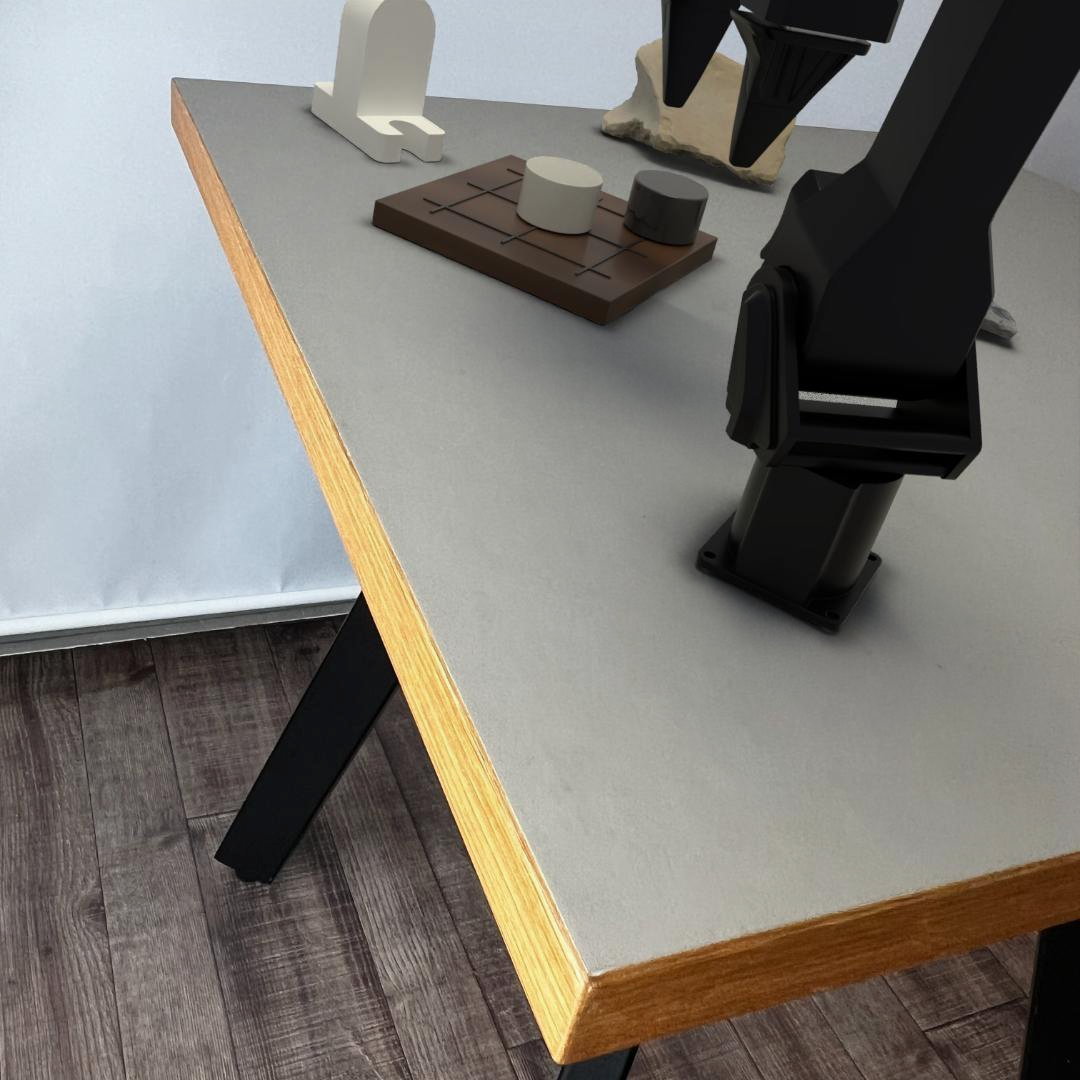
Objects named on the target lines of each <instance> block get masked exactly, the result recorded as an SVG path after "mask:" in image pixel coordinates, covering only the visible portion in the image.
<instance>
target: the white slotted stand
mask: <svg viewBox="0 0 1080 1080" xmlns="http://www.w3.org/2000/svg"><path fill="white" fill-rule="evenodd" d="M436 26H437V25H436V19H435V14H434V12H433V10H432V8H431V5H430V4H429V2H428V1H426V0H345V3H344V5H343V7H342V12H341V19H340V26H339V34H338V35H339V36H338V45H337V51H336V60H335V69H334V78H333V81H315V82H314V83H313V84H314V85H313V93H312V101H311V102H312V103H311V112H310V113H312V114H313V115H314V116H316V117H317V118H318V119H319V120H321V121H322V122H324V123H325V124H326V125H328V126H329V127H330V128H331V129H333V130H334V131H335V132H337V133H338V134H339V135H341V136H342V137H343V138H344V139H346V140H347V141H349V142H350V143H351V144H352V145H354V146H356V147H357V148H358V149H360V151H362V152H363V153H365V154H366V155H368V156H369V157H370V158H371V159H373V160H375V161H376V162H379V163H385V164H386V163H387V164H388V163H400V162H401V155H402V150H406V151H408V152H409V153H411V154H413V155H414V156H415V157H417V158H419V159H420V160H421V161H422V162H423V163H424V162H440V161H441V160H442V155H443V148H444V143H445V138H446V137H445V136H446V131H445V130H443V129H442V128H441V127H439V126H437V125H436V124H435V123H433V122H432V121H430V120H429V119H427V118H426V117H424V116H423V113H424V106H425V101H426V94H427V88H428V83H429V76H430V69H431V63H432V57H433V50H434V45H435V40H436V39H435V38H436Z"/></svg>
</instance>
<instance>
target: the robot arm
mask: <svg viewBox="0 0 1080 1080" xmlns="http://www.w3.org/2000/svg"><path fill="white" fill-rule="evenodd" d="M904 3H905V0H660V9H661V11H660V12H661V38H662V87H663V103H664V104H665V105H666V106H668V107H674V108H682V107H683V106H684V105H685V103H686V101H687V100H688V98H689V97H690V95H691V93H692V92H693V90H694V89H695V87H696V85H697V84H698V82H699V80H700V79H701V77H702V75H703V73H704V71H705V69H706V68H707V66H708V64H709V62H710V60H711V59H712V57H713V55H714V53H715V51H716V52H717V50H718V47H719V46H720V44H721V42H722V40H723V39H724V37H725V35H726V33H727V32H728V29H730V26H731V24H732V22H733V23H734V24H735V25H734V26H736V30H737V32H738V34H739V36H740V37H741V41H742V43H743V45H744V47H745V51H746V54H745V59H744V64H743V65H744V71H743V76H742V81H741V87H740V92H739V98H738V103H737V108H736V114H735V119H734V125H733V130H732V137H731V145H730V153H729V163H730V164H731V165H732V166H734V167H741V168H749V167H751V166H752V165H753V164H754V163H755V162H756V161H757V160H758V158H759V157H760V156H761V155H762V154H763V153H764V152H765V151H766V149H767V148H768V147H769V146H770V145H771V144H772V143H773V142H774V140H775V139H776V138H777V137H778V136H779V135H780V134H781V133H782V131H783V130H784V129H785V128H786V127H787V126H788V125H789V124H790V122H791V121H792V120H793V119H794V118H795V117H796V118H797V116H798V115H799V114H800V112H801V111H802V110H803V109H804V108H805V107H807V105H808V104H809V103H810V102H811V100H813V99H814V98H815V97H816V95H817V94H818V93H820V91H821V90H823V88H825V86H826V85H828V83H830V82H831V81H832V80H833V79H834V78H835V77H836V75H838V74H839V73H840V72H841V71H842V70H843V69H844V68H845V66H847V65H848V64H849V63H850V62H851V61H852V60H853V59H854V58H855V57H856V56H858V57H865V56H868V53H869V52H870V50H871V47H872V43H871V42H873V43H879V44H883V45H884V44H885V45H886V44H888V43H891V40H892V37H893V35H894V32H895V29H896V27H897V23H898V20H899V18H900V15H901V12H902V9H903V6H904ZM741 6H742V7H743V8H744V9H747V10H748V11H747V10H742V9H740V8H741ZM1079 72H1080V0H942V1H941V3H940V5H939V7H938V9H937V11H936V14H935V15H934V18H933V20H932V22H931V24H930V26H929V28H928V29H927V31H926V34H925V36H924V38H923V40H922V42H921V44H920V46H919V48H918V50H917V53H916V55H915V57H914V58H913V60H912V63H911V65H910V67H909V69H908V71H907V73H906V75H905V77H904V78H903V81H902V83H901V85H900V88H899V89H898V91H897V93H896V95H895V97H894V99H893V101H892V104H891V106H890V108H889V110H888V112H887V114H886V116H885V118H884V120H883V122H882V124H881V126H880V128H879V130H878V132H877V135H876V137H875V139H874V141H873V143H872V145H871V146H870V148H869V150H868V152H867V153H866V154H865V156H864V158H863V159H861V160H860V161H859V162H857V163H856V164H855V165H853V166H852V167H850V168H849V169H847V170H846V171H845V172H843V173H839V172H834V171H833V172H832V171H826V170H819V169H814V168H813V169H812V168H809V169H808V170H806V171H805V172H804V173H803V174H802V175H801V176H800V177H799V179H798V180H797V181H796V182H795V183H794V184H793V185H792V186H791V189H790V191H789V194H788V197H787V199H786V202H785V205H784V208H783V211H782V214H781V216H780V219H779V221H778V223H777V226H776V228H775V229H774V231H773V233H772V235H771V237H770V238H769V240H768V241H767V242H766V243H765V245H764V246H763V247H762V249H761V250H760V251H759V252H760V253H759V258H760V260H763V262H762V263H761V266H760V268H759V269H757V270H756V271H755V272H754V274H753V275H752V276H751V278H750V280H749V282H748V284H747V286H746V289H745V290H744V291H743V292H742V295H741V301H740V306H739V312H738V317H737V325H736V331H735V336H734V342H733V347H732V348H733V349H732V355H731V360H730V366H729V372H728V378H727V384H726V399H725V408H726V411H727V412H728V414H729V415H730V416H729V419H728V422H727V425H726V427H725V430H724V431H725V433H726V435H727V437H728V438H729V440H731V441H733V442H735V443H737V444H739V445H741V446H744V447H745V448H746V449H747V450H752V451H753V453H754V455H756V457H755V460H754V462H753V465H752V468H751V471H750V473H749V476H748V479H747V481H746V483H745V487H744V490H743V492H742V495H741V498H740V500H739V502H738V506H737V509H735V511H734V512H733V513H732V514H731V515H730V516H729V517H728V518H727V519H726V520H725V521H724V522H723V523H722V525H721V526H720V527H719V528H718V529H717V530H716V531H715V532H714V533H713V534H712V535H711V537H710V538H709V539H708V540H707V541H705V543H704V544H703V545H702V546H701V547H700V548H699V549H698V551H697V555H696V557H695V563H696V564H697V565H698V566H699V567H700V568H702V569H703V570H705V571H708V572H709V573H711V574H714V575H716V576H718V577H720V578H722V579H724V580H726V581H728V582H730V583H732V584H734V585H736V586H738V587H739V588H742V589H744V590H746V591H748V592H750V593H752V594H753V595H756V596H758V597H760V598H762V599H764V600H766V601H767V602H768V601H769V602H771V603H772V604H774V605H776V606H779V607H780V608H783V609H784V610H787V611H788V612H790V613H792V614H795V615H797V616H799V617H801V618H803V619H805V620H806V621H809V622H811V623H812V624H814V625H816V626H819V627H821V628H823V629H825V630H827V631H832V632H838V631H840V630H841V629H842V628H843V626H844V624H845V623H846V621H847V620H848V618H849V617H850V615H851V613H852V612H853V610H854V609H855V607H856V606H857V604H858V603H859V601H860V599H861V598H862V597H863V595H864V593H865V591H866V590H867V588H868V587H869V585H870V584H871V582H872V581H873V579H874V577H875V576H876V574H877V573H878V571H879V569H880V567H881V565H882V563H883V559H882V558H881V556H880V555H879V554H877V553H876V552H874V551H872V549H873V547H874V545H875V543H876V540H877V539H878V536H879V534H880V532H881V529H882V527H883V525H884V522H885V520H886V519H887V516H888V514H889V512H890V509H891V507H892V505H893V502H894V500H895V498H896V497H897V494H898V491H899V489H900V487H901V485H902V483H903V480H904V479H905V476H907V475H908V476H919V477H921V476H922V477H935V478H940V479H941V480H947V481H956V480H957V479H958V478H960V476H961V475H962V474H963V472H965V470H966V469H967V468H968V467H969V466H970V465H971V464H972V463H973V461H974V460H976V458H977V457H978V456H979V455H980V453H981V452H982V448H983V434H982V433H983V431H982V417H981V403H980V389H979V386H980V385H979V372H978V357H977V355H978V354H977V342H976V341H977V340H976V337H977V336H978V333H979V332H980V329H981V328H980V327H981V325H982V323H983V321H984V319H985V316H986V314H987V312H988V310H989V308H990V306H991V304H992V302H993V301H994V299H995V295H996V289H995V287H996V286H995V272H994V255H993V252H994V251H993V236H992V223H993V221H994V219H995V217H996V215H997V213H998V210H999V209H1000V207H1001V205H1002V204H1003V202H1004V200H1005V199H1006V196H1007V195H1008V193H1009V192H1010V190H1011V188H1012V186H1013V185H1014V183H1015V181H1016V179H1017V178H1018V176H1019V175H1020V173H1021V171H1022V170H1023V168H1024V166H1025V165H1026V163H1027V161H1028V159H1029V158H1030V156H1031V154H1032V152H1033V151H1034V150H1035V148H1036V145H1037V144H1038V143H1039V141H1040V139H1041V137H1042V136H1043V133H1044V132H1045V131H1046V129H1047V128H1048V125H1049V124H1050V122H1051V121H1052V119H1053V117H1054V116H1055V114H1056V112H1057V111H1058V108H1059V107H1060V105H1061V103H1063V100H1064V98H1065V97H1066V95H1067V93H1068V91H1069V90H1070V89H1071V87H1072V85H1073V83H1074V82H1075V80H1076V78H1077V76H1078V74H1079ZM800 392H801V393H811V394H822V395H823V394H824V395H835V396H846V397H857V398H868V399H878V400H887V401H888V400H890V401H896V405H895V406H894V407H893V406H883V405H882V406H881V405H871V404H860V403H848V402H840V401H839V402H837V401H825V400H815V399H803V398H800Z"/></svg>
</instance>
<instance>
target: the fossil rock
mask: <svg viewBox="0 0 1080 1080" xmlns="http://www.w3.org/2000/svg"><path fill="white" fill-rule="evenodd" d="M980 329H981V330H983V331H987V332H990V333H993V334H995V335H996V336H1000V337H1002V338H1006V339H1012V338H1014V337H1015V336H1016V335H1017V334H1018V333H1019V329H1018V328H1017V321H1016V319H1015V318H1014V317H1013V316H1012V314H1011V313H1010V312H1009V311H1007V309H1005V308H1003V307H1002V306H1000V305H999V304H998V303H997V302H995V300H993V302H992V304H991V306H990V308H989V310H988V312H987V314H986V316H985V319H984V321H983V323H982V325H981V327H980Z"/></svg>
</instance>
